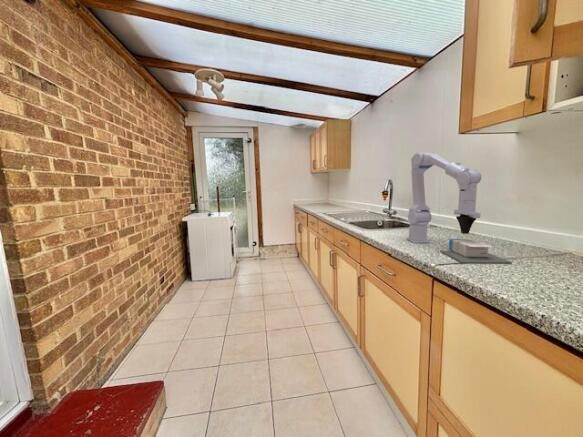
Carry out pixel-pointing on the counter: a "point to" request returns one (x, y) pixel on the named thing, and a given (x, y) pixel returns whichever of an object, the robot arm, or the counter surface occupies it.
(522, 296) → the counter surface
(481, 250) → the ink box
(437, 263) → the counter surface
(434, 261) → the counter surface
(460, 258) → the mat
